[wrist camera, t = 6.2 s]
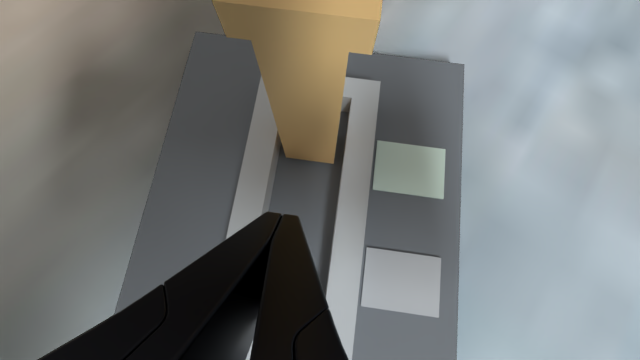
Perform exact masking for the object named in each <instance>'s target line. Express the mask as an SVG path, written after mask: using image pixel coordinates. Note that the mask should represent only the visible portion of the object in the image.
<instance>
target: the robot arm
mask: <svg viewBox="0 0 640 360" xmlns="http://www.w3.org/2000/svg"><path fill="white" fill-rule="evenodd" d="M252 341H253V344H252ZM251 344H252V350H251V355H250V360H349V359H348V356H347V354H346V352H345V350H344V348H343V345H342V343H341V340H340V337H339V335H338V332H337V329H336V326H335V324H334V321H333V318H332V315H331V312H330V310H329V306H328V303H327V300H326V297H325V294H324V291H323V288H322V285H321V282H320V279H319V276H318V273H317V270H316V267H315V264H314V261H313V258H312V255H311V252H310V249H309V246H308V243H307V239H306V236H305V233H304V230H303V227H302V224H301V221H300V218H299V216H297V215H290V214H283V215H282V214H281V213H276V212H269V211H268V212H265V213H264V214H262V215H261V216H259V217H258V218H256V219H255V220H253V221H252V222H251V223H249V224H248V225H246V226H245V227H243V228H242V229H240V230H239V231H237V232H236V233H235V234H233V235H232V236H230V237H229V238H227V239H226V240H224V241H223V242H221V243H220V244H219V245H217V246H216V247H214V248H213V249H211V250H210V251H208V252H207V253H205V254H204V255H203V256H201V257H200V258H198V259H197V260H195V261H194V262H192V263H191V264H189V265H188V266H187V267H185V268H184V269H182V270H181V271H179V272H178V273H176V274H175V275H173V276H172V277H171V278H169V279H168V280H166V281H165V282H164V285H163V284H160V285H159V286H157V287H156V288H154V289H153V290H151V291H150V292H149V293H147V294H146V295H144V296H143V297H141V298H140V299H138V300H136V301H135V302H133V303H132V304H130V305H129V306H127V307H126V308H124V309H123V310H121V311H120V312H118V313H116V314H115V315H113V316H111V317H110V318H108V319H106V320H105V321H103V322H101V323H100V324H98V325H96V326H95V327H93V328H91V329H90V330H88V331H86V332H84V333H83V334H81V335H79V336H77V337H76V338H74V339H72V340H71V341H69V342H67V343H65V344H64V345H62V346H60V347H58V348H57V349H55V350H53V351H51V352H50V353H48V354H46V355H45V356H43V357H41V358H39V359H38V360H246V357H247V354H248V352H249V349H250V346H251Z"/></svg>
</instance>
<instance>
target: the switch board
mask: <svg viewBox="0 0 640 360" xmlns="http://www.w3.org/2000/svg"><path fill="white" fill-rule="evenodd" d="M463 92H464V64H457V63H449V62H441V61H433V60H424V59H416V58H408V57H400V56H392V55H383V54H375V53H372V55H368V54H360V53H351V52H349V55H348V62H347V69H346V77H345V84H344V91H343V99H342V106H341V113H340V121H339V128H338V136H337V143H336V150H335V157H334V164H331V163H323V162H316V161H309V160H301V159H294V158H286V156H285V153H284V149H283V146H282V143H281V139H280V136H279V132H278V129H277V126H276V122H275V119H274V116H273V112H272V109H271V106H270V102H269V99H268V96H267V92H266V89H265V86H264V82H263V79H262V76H261V72H260V69H259V66H258V62H257V59H256V55H255V52H254V49H253V45H252V42H251V40H245V39H237V38H229V37H226V35H219V34H211V33H203V32H196V33H195V36H194V39H193V43H192V46H191V50H190V53H189V57H188V60H187V64H186V67H185V71H184V74H183V78H182V81H181V84H180V88H179V91H178V95H177V98H176V102H175V105H174V109H173V112H172V116H171V119H170V122H169V126H168V129H167V133H166V136H165V140H164V143H163V147H162V150H161V154H160V157H159V161H158V164H157V167H156V171H155V174H154V178H153V181H152V185H151V188H150V192H149V195H148V199H147V202H146V206H145V209H144V212H143V216H142V219H141V223H140V226H139V230H138V233H137V237H136V240H135V244H134V247H133V251H132V254H131V257H130V261H129V264H128V268H127V271H126V275H125V278H124V282H123V285H122V289H121V292H120V296H119V299H118V302H117V306H116V309H115V313H114V315H115V314H116V313H118V312H120V311H121V310H123V309H124V308H126V307H127V306H129V305H130V304H132V303H133V302H135V301H136V300H138V299H140V298H141V297H143V296H144V295H146V294H147V293H149V292H150V291H151V290H153V289H154V288H156V287H157V286H159V285H160V284H163V285H164V282H165V281H166V280H168V279H169V278H171V277H172V276H173V275H175V274H176V273H178V272H179V271H181V270H182V269H184V268H185V267H187V266H188V265H189V264H191V263H192V262H194V261H195V260H197V259H198V258H200V257H201V256H203V255H204V254H205V253H207V252H208V251H210V250H211V249H213V248H214V247H216V246H217V245H219V244H220V243H221V242H223V241H224V240H226V239H227V238H229V237H230V236H232V235H233V234H235V233H236V232H237V231H239V230H240V229H242V228H243V227H245V226H246V225H248V224H249V223H251V222H252V221H253V220H255V219H256V218H258V217H259V216H261V215H262V214H264V213H265V212H268V211H269V212H276V213H281V214H282V215H283V214H290V215H297V216H299V218H300V221H301V224H302V227H303V230H304V233H305V236H306V239H307V243H308V246H309V249H310V252H311V255H312V258H313V261H314V264H315V267H316V270H317V273H318V276H319V279H320V282H321V285H322V288H323V291H324V294H325V297H326V300H327V303H328V306H329V310H330V312H331V315H332V318H333V321H334V324H335V326H336V329H337V332H338V335H339V337H340V340H341V343H342V345H343V348H344V350H345V352H346V354H347V356H348V359H349V360H457V322H458V283H459V245H460V207H461V169H462V130H463ZM252 344H253V341H252ZM252 344H251V346H250V349H249V352H248V354H247V357H246V360H250V355H251V350H252Z"/></svg>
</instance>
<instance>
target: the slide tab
mask: <svg viewBox="0 0 640 360" xmlns="http://www.w3.org/2000/svg"><path fill="white" fill-rule="evenodd" d="M212 2H213V5H214V7H215V10H216V12H217V15H218V17H219V20H220V22H221V25H222V27H223V30H224V32H225V35H226V37H229V38H237V39H245V40H251V42H252V45H253V49H254V52H255V55H256V59H257V62H258V66H259V69H260V72H261V76H262V79H263V82H264V86H265V89H266V92H267V96H268V99H269V102H270V106H271V109H272V112H273V116H274V119H275V122H276V126H277V129H278V132H279V136H280V139H281V143H282V146H283V149H284V153H285V156H286V158H294V159H301V160H309V161H316V162H323V163H331V164H334V157H335V150H336V143H337V136H338V128H339V121H340V113H341V106H342V99H343V91H344V84H345V77H346V69H347V62H348V55H349V52H351V53H360V54H368V55H372V52H373V48H374V44H375V40H376V36H377V32H378V28H379V24H380V18H381V9H382V0H212Z"/></svg>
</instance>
